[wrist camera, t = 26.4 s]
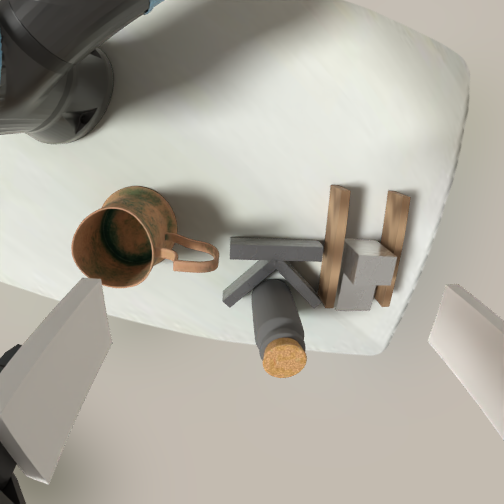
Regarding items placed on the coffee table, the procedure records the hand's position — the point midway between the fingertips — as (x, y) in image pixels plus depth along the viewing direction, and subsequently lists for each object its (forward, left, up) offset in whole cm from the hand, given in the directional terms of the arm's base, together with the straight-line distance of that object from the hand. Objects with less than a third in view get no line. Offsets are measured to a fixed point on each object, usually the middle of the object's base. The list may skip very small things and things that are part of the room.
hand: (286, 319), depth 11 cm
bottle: (+16, +4, -32) cm, 36 cm away
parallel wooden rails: (+7, +16, -32) cm, 36 cm away
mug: (+6, -12, -32) cm, 35 cm away
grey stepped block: (+11, +16, -32) cm, 37 cm away
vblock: (+11, +4, -32) cm, 34 cm away
